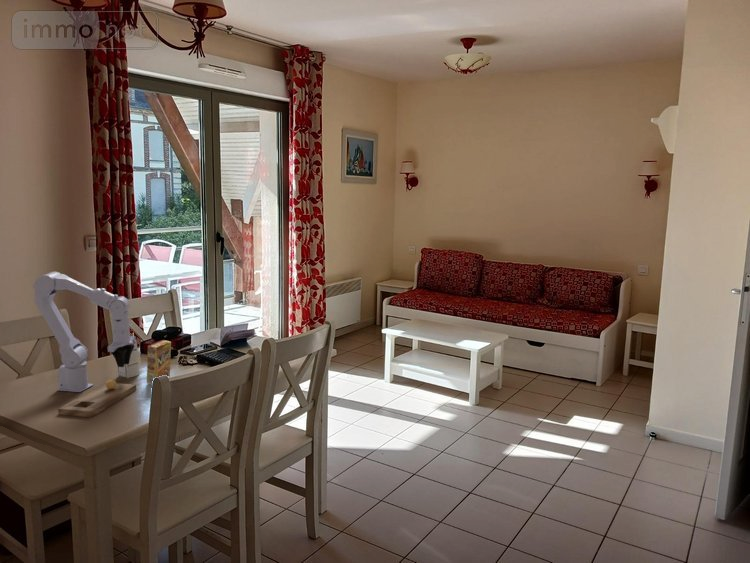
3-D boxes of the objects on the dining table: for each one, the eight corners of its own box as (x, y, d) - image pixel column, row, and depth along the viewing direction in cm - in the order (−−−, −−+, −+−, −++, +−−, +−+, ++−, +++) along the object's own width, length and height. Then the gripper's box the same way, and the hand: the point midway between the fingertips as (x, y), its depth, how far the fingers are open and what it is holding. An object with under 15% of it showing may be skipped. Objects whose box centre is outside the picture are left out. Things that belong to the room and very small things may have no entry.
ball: (104, 390, 211) (103, 381, 210) (110, 387, 214) (109, 377, 214) (112, 391, 210) (112, 381, 210) (118, 387, 214) (118, 378, 213)
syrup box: (139, 374, 234) (137, 339, 232) (126, 378, 229) (124, 343, 227) (130, 372, 237) (128, 337, 235) (117, 376, 232) (115, 340, 230)
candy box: (155, 386, 222) (156, 347, 219) (145, 383, 223) (147, 345, 220) (170, 378, 230) (171, 341, 227) (160, 376, 231) (162, 339, 228)
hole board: (58, 414, 194) (57, 408, 194) (106, 387, 220) (106, 382, 219) (91, 417, 192) (90, 411, 192) (136, 389, 218) (136, 384, 217)
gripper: (119, 335, 209) (121, 372, 211) (142, 325, 223) (144, 360, 225) (101, 334, 210) (103, 370, 213) (125, 324, 224) (127, 359, 227)
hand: (123, 365), depth 219 cm, fingers open, 3 cm apart
